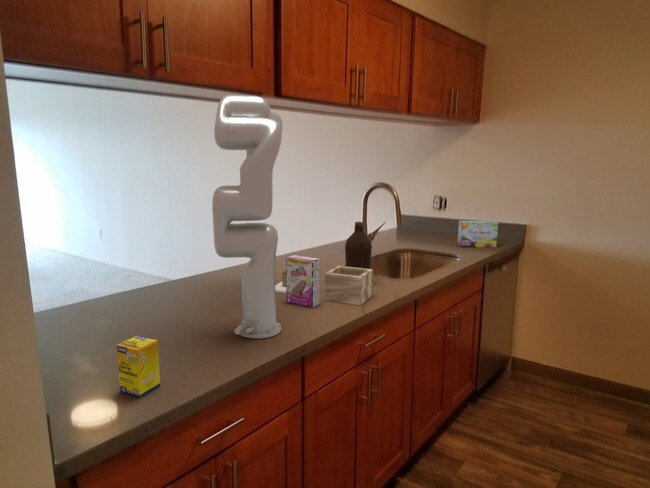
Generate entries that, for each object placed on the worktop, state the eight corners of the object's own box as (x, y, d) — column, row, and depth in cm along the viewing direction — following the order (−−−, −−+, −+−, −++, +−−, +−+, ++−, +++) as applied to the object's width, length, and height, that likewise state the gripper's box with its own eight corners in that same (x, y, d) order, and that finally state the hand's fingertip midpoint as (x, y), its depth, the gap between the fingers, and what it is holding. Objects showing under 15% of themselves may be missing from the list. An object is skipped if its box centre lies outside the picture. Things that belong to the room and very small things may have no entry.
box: (360, 305, 156) (361, 277, 155) (324, 300, 162) (325, 273, 160) (371, 295, 168) (372, 269, 166) (338, 291, 173) (338, 265, 171)
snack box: (459, 247, 262) (461, 221, 259) (457, 245, 267) (458, 220, 264) (496, 247, 262) (498, 221, 259) (493, 245, 267) (495, 220, 264)
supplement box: (119, 392, 97) (115, 344, 95) (140, 380, 103) (137, 334, 101) (140, 398, 95) (136, 349, 93) (161, 386, 100) (158, 339, 98)
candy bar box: (285, 303, 159) (285, 257, 155) (293, 299, 163) (293, 254, 160) (312, 308, 153) (313, 261, 150) (320, 304, 157) (320, 258, 154)
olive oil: (376, 284, 184) (378, 222, 179) (357, 288, 177) (358, 224, 172) (357, 278, 191) (359, 219, 187) (339, 282, 185) (339, 221, 180)
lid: (304, 296, 168) (304, 277, 167) (268, 292, 173) (268, 273, 172) (318, 286, 181) (318, 269, 179) (284, 282, 186) (284, 265, 185)
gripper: (252, 155, 154) (253, 205, 158) (278, 155, 170) (278, 201, 173) (234, 155, 157) (235, 204, 161) (261, 155, 173) (261, 200, 176)
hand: (258, 203), depth 167 cm, fingers open, 9 cm apart
